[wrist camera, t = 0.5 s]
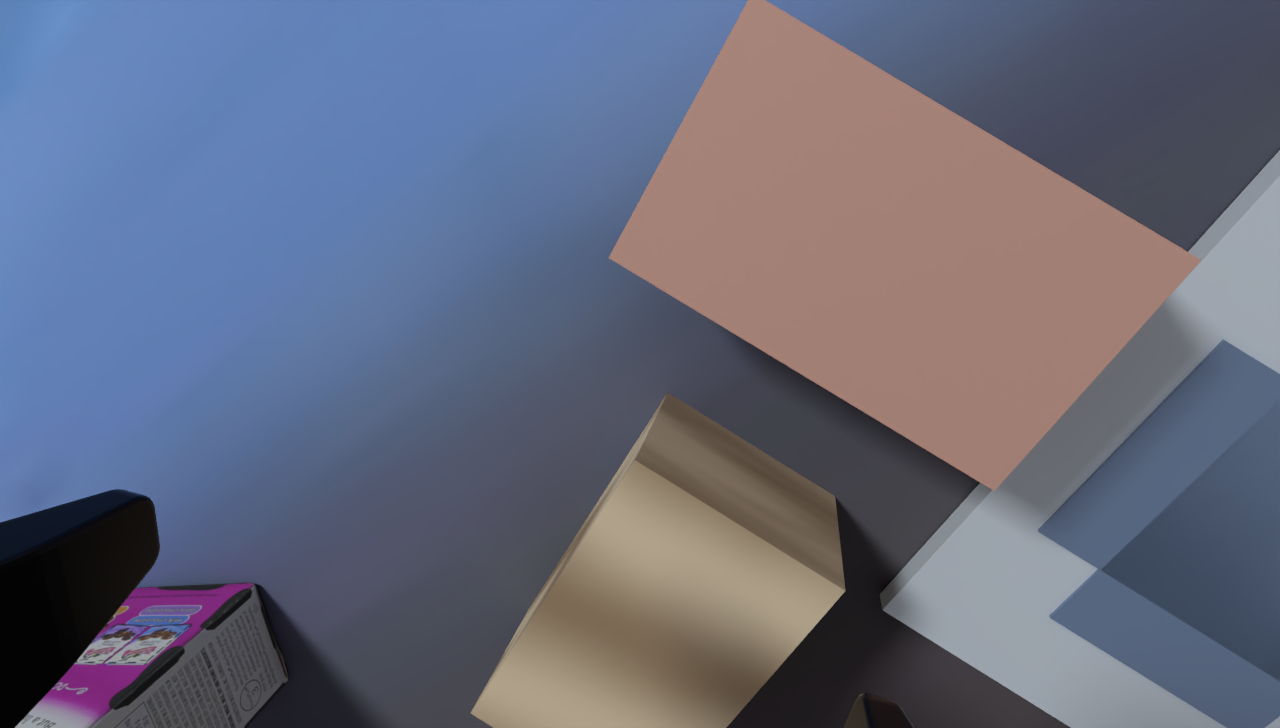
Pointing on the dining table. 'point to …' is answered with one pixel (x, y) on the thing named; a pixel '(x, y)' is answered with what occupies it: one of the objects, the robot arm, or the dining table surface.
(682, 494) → the brick
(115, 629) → the candy bar box
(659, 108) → the dining table surface
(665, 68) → the dining table surface
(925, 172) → the brick
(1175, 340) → the blueprint board
